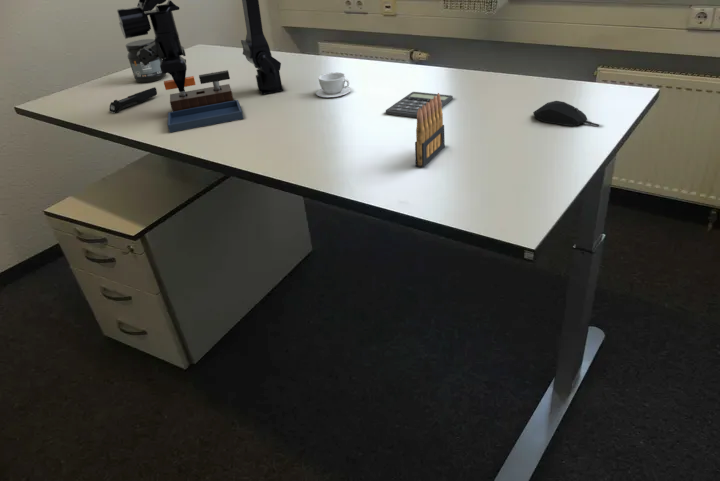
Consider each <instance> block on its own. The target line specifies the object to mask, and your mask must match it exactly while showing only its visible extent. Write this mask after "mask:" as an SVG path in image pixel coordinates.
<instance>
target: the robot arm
mask: <svg viewBox="0 0 720 481" xmlns="http://www.w3.org/2000/svg"><path fill="white" fill-rule="evenodd" d="M165 2H166V3H165ZM164 3H165V4H164ZM241 3H242V9H243V17H244V24H245V29H246V36H245V39H240V42H241V46H242V55H243V56H245V59H246V60H247V61H248V62H249V63H250V64H252V65H253V67H254V68H255V69H256V71H255V72H256V75H255V80H256V86H257V89H258V92H260V93H261V95H267V94H273V93H278V92H284V87H283V85H282V79H281V73H280V71H281V66H282V62H281V61H279V60H277V59H276V58H275V57H273V56H272V52H271V49H270V44H269V43H268V40H267V39H266V36H265V34H264V31H263V22H262V15H261V8H260V2H259V0H241ZM154 8H155V9H154ZM179 10H180V6H178V5H176V4H175V3H174V2H173V1H172V0H138V2H137V5H136V6H135V7H130V8H119V9H117V10H116V12H117V15H118V16H117V17H118V21H119V22H118V24H119V27H120V29H121V32H122V35H123V37H124V39H125V40H126V39H132V38H136V37H142V36H147V35H149V32H150V30H152V29H153V34H154V38H153V39H154V40H155V42H154V43H152V44H150V45H148V46H147V47H144V48H143V49H140V51H138V52H137V56H138V58H139V60H140V61H141V62H142V63H143V65H144V66H146V65H148V64H149V62H151V61H153V60H155V59H156V58H158V57H159V58H160V59H162V61H161V63H160V68H161V71H162V73H163V74H165V73H166V74H168V75H170V76H171V78H172V80H174V82H175V83H176V85H177V87H178V88H177V89H179V90H178V92H179V91H180V92H182V91H184V89H185V87H184V85H185V77H187V76H186V75H187V69H188V68H187V59H186V58H184V57H186V51H185V47H184V46H182V43H181V41H180V35H179V31H178V28H177V25H176V21H175V18H174V14H173V12H174V11H179ZM149 19H150V20H149ZM182 56H183V57H182Z"/></svg>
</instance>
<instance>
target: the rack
mask: <svg viewBox="0 0 720 481" xmlns="http://www.w3.org/2000/svg"><path fill="white" fill-rule="evenodd" d="M219 86H220V90H219V91H215V90H214V86H210V87H209V86H208V87H203V88H199V89H192V90H185V92H186V96H185V97H180V93H179V92H176V93H170V94H169V103H170V107H171V110H172V111H171V112H173V111H179V110H184V109H190V108H195V107H201V106H206V105H212V104H217V103H223V102H228V101H234V96H233V92H232V88H231V85H230V83H226V84H221V85H219Z"/></svg>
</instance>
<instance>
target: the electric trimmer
mask: <svg viewBox="0 0 720 481" xmlns="http://www.w3.org/2000/svg"><path fill="white" fill-rule="evenodd" d="M157 95H158V91H157V88H156V86H155V87H151V88H148V89H145V90H142V91H140V92H136V93H133V94H131V95H127V96H126V97H124V98H121V99H119V100H117V99H114V100H113V101H111V102H110V104H109V109H108V110H109V112H110V113H112V114H115V113H116V114H117V113H119V112H120V111H121V110H123V109H126V108H128V107H131V106H133V105H135V104H142V103H143V102H146V101H148V100H149V99H152V98H153V97H155V96H157Z"/></svg>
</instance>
